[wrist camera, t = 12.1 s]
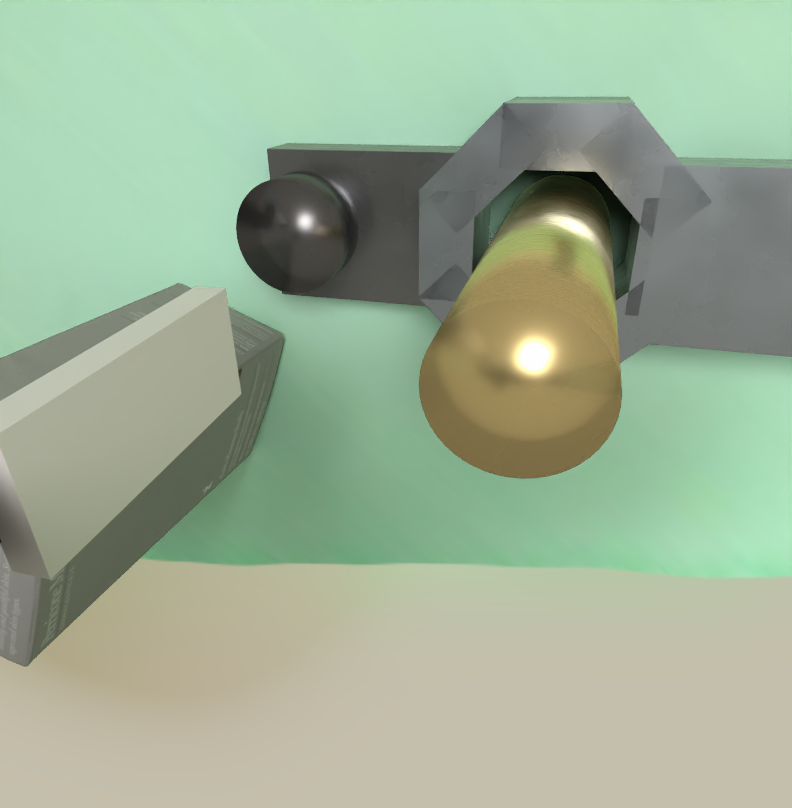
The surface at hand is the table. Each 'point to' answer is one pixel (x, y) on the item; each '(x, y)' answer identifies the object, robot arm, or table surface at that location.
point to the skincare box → (157, 503)
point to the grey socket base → (489, 175)
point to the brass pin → (532, 340)
